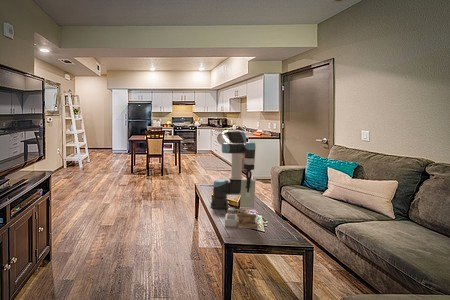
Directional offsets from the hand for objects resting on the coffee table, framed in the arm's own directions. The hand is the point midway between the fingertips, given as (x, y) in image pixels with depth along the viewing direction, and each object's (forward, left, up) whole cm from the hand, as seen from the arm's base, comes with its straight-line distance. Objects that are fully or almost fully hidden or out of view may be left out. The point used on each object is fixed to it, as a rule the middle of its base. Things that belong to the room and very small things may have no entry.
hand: (247, 195), depth 242 cm
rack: (+4, 0, -20) cm, 21 cm away
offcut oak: (+6, 0, -16) cm, 17 cm away
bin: (+3, -11, -20) cm, 23 cm away
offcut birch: (+6, 0, -21) cm, 22 cm away
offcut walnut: (+6, 0, -18) cm, 19 cm away
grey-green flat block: (0, 0, -8) cm, 8 cm away
